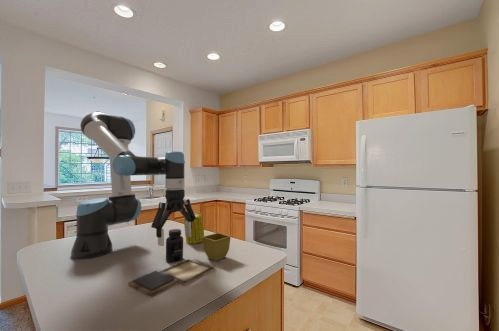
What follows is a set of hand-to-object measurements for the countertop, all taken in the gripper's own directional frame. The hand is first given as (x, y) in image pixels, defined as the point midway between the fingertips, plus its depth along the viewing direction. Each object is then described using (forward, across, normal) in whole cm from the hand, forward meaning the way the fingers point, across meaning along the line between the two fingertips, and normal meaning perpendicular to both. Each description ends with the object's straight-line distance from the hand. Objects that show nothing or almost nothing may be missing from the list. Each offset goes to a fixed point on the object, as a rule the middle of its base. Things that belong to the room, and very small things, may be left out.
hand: (175, 240), depth 95 cm
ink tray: (+8, -17, -10) cm, 21 cm away
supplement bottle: (+8, 0, 0) cm, 8 cm away
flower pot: (+8, +11, -12) cm, 19 cm away
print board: (+8, -5, -12) cm, 16 cm away
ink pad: (+8, -17, -10) cm, 21 cm away
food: (+8, +21, +12) cm, 25 cm away
